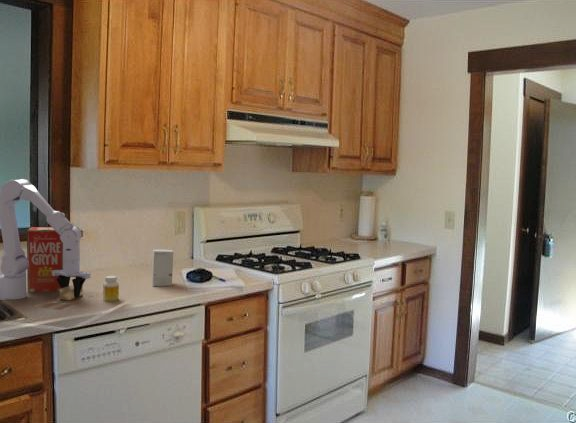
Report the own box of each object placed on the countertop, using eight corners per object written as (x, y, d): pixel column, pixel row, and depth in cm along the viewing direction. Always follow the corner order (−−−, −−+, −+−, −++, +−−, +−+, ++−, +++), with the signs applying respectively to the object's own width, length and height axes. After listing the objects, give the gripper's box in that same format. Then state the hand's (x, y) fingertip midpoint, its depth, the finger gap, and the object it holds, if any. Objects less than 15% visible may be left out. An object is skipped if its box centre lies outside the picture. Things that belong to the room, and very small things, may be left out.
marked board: (31, 309, 184) (31, 306, 184) (67, 295, 203) (67, 292, 203) (60, 312, 181) (60, 309, 181) (93, 298, 201) (93, 295, 201)
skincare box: (152, 286, 222) (152, 251, 220) (151, 283, 228) (152, 248, 226) (173, 285, 224) (173, 251, 223) (171, 282, 230) (172, 248, 229)
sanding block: (59, 300, 193) (59, 289, 192) (73, 294, 200) (73, 284, 200) (69, 301, 192) (69, 290, 191) (82, 295, 200) (82, 285, 199)
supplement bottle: (100, 302, 196) (100, 276, 195) (113, 299, 200) (114, 274, 199) (107, 305, 192) (107, 279, 191) (121, 302, 196) (121, 277, 195)
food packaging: (26, 294, 202) (25, 229, 200) (31, 289, 211) (30, 226, 209) (64, 293, 206) (64, 229, 203) (67, 288, 215) (67, 226, 212)
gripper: (46, 260, 193) (47, 297, 194) (82, 263, 189) (82, 300, 191) (59, 257, 199) (59, 292, 201) (93, 260, 196) (93, 296, 198)
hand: (71, 296), depth 196 cm, fingers closed on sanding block, 4 cm apart
